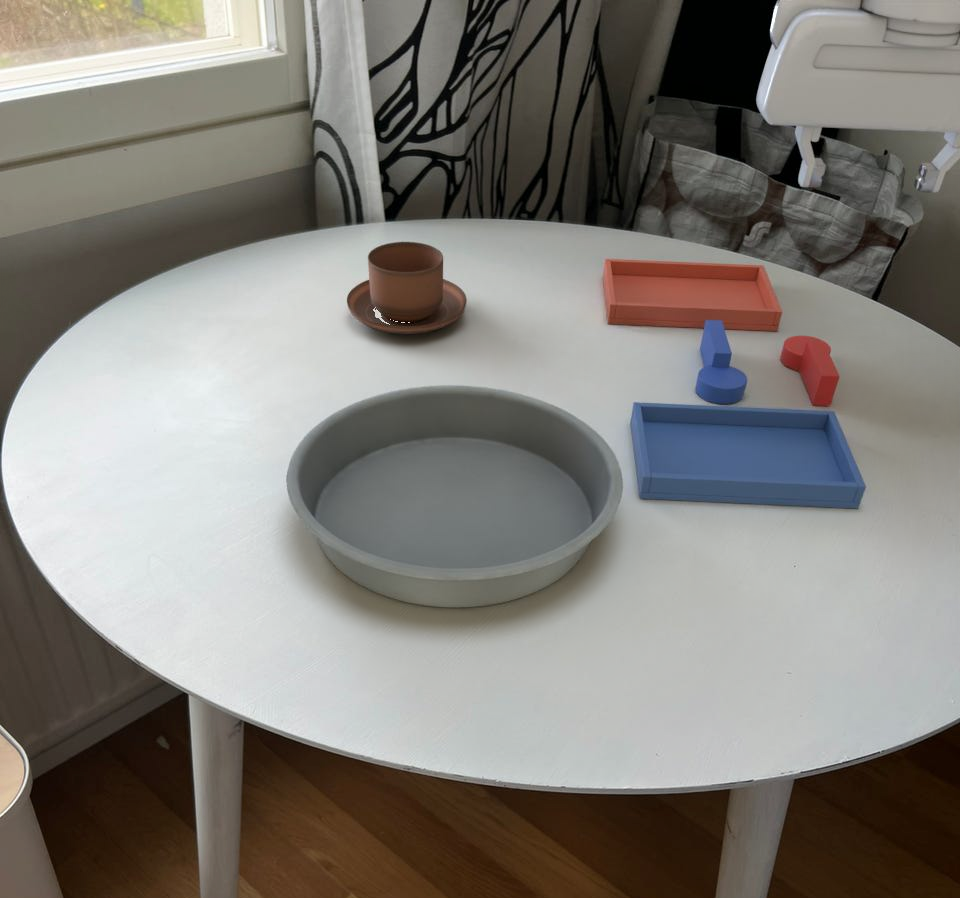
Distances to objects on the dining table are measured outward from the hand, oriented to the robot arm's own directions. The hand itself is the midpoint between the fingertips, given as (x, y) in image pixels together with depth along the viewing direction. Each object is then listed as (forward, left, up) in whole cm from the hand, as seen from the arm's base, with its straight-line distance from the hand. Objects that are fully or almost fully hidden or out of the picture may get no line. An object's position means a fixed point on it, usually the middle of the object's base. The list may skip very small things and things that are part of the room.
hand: (866, 187), depth 76 cm
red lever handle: (0, -1, -18) cm, 18 cm away
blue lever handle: (+9, -1, -18) cm, 20 cm away
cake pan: (+32, +23, -18) cm, 43 cm away
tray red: (+10, -16, -18) cm, 26 cm away
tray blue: (+9, +14, -18) cm, 24 cm away
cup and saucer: (+39, -10, -18) cm, 44 cm away
